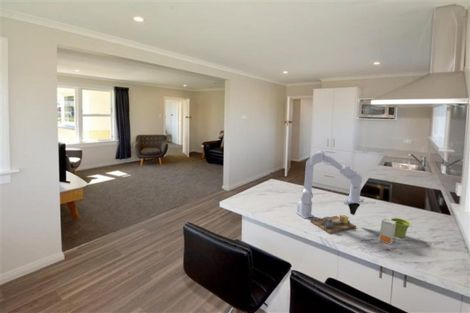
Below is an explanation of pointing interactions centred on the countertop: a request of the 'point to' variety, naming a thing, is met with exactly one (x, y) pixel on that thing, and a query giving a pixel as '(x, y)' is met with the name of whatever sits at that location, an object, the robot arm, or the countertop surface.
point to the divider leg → (344, 219)
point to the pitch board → (333, 229)
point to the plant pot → (400, 227)
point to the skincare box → (387, 231)
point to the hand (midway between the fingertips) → (352, 214)
